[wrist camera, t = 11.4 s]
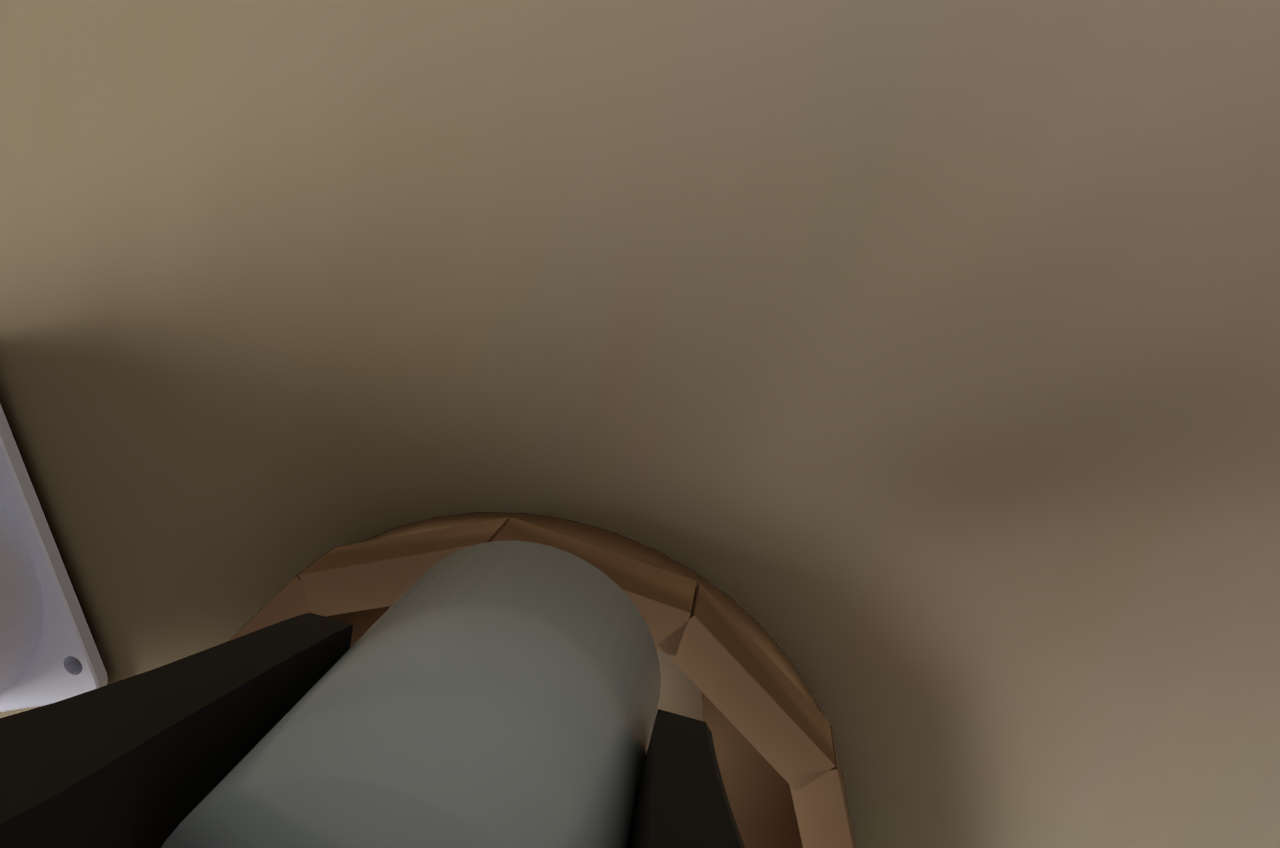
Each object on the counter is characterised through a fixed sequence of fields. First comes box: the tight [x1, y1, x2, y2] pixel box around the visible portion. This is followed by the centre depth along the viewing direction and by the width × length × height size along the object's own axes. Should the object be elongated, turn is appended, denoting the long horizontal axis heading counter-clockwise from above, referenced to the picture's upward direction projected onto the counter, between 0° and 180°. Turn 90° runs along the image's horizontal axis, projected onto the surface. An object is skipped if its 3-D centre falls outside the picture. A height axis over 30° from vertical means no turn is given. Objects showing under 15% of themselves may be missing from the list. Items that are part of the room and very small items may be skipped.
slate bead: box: [161, 540, 661, 848], centre depth 9 cm, size 4×4×5 cm
